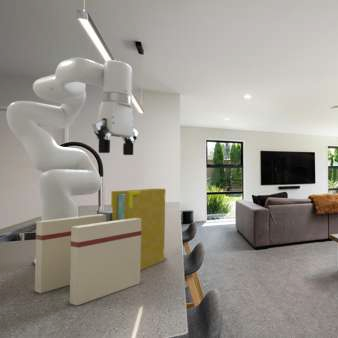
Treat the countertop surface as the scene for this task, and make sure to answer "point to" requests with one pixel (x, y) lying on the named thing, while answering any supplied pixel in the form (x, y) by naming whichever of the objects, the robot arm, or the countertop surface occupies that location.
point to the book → (144, 219)
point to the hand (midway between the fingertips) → (116, 153)
